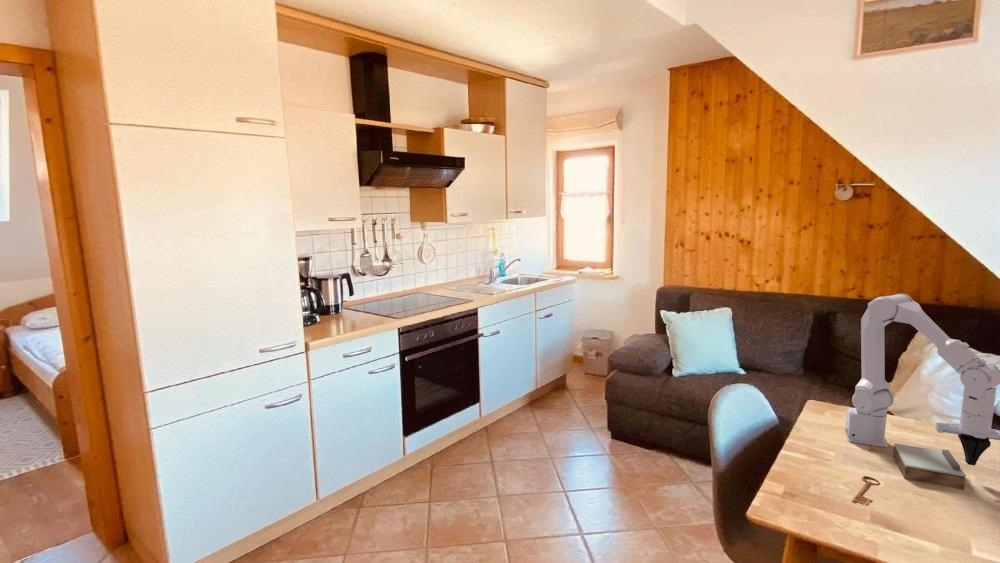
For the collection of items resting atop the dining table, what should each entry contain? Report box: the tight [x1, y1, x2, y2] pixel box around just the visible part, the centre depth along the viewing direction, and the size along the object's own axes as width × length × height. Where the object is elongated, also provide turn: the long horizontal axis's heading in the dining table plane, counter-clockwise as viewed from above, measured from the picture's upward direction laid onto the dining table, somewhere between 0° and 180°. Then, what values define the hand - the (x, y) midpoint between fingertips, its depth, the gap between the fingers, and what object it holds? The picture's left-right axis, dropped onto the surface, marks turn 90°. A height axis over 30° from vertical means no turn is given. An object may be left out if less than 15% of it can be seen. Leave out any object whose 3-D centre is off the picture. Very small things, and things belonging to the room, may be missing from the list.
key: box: [851, 475, 881, 507], centre depth 124 cm, size 6×1×15 cm
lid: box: [893, 443, 966, 478], centre depth 131 cm, size 12×13×2 cm
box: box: [892, 446, 966, 490], centre depth 132 cm, size 12×13×3 cm
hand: (970, 463), depth 128 cm, fingers closed
